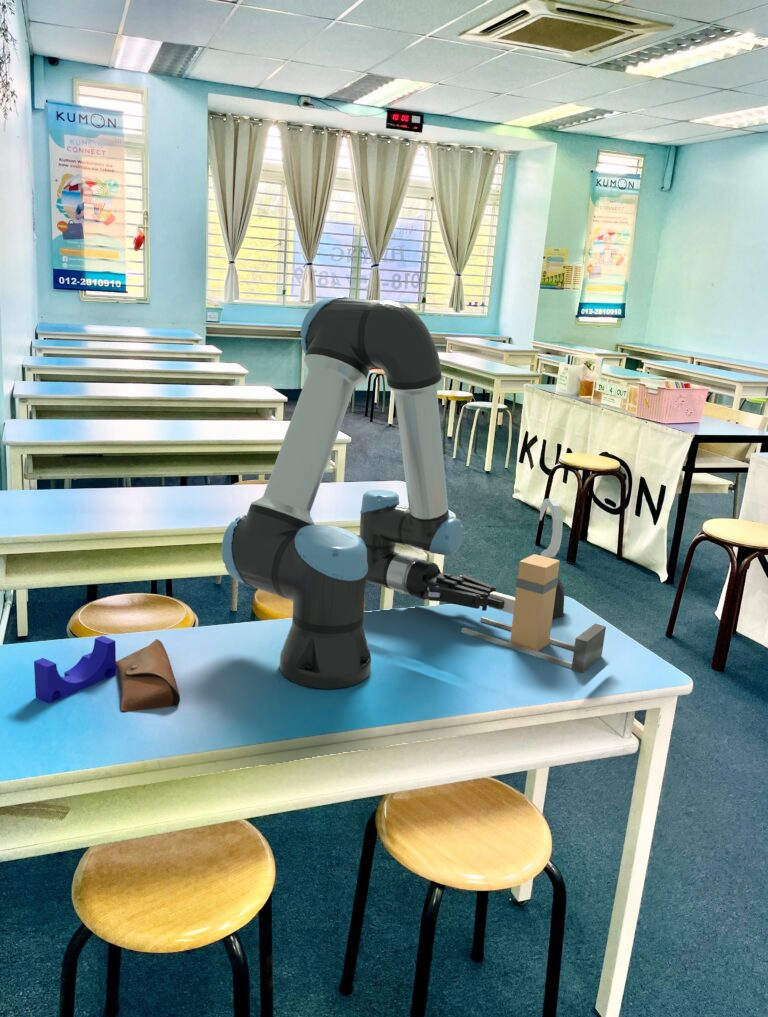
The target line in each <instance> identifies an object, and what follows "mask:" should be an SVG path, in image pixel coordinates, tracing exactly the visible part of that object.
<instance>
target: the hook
mask: <svg viewBox="0 0 768 1017" xmlns="http://www.w3.org/2000/svg"><path fill="white" fill-rule="evenodd" d="M548 508H549V509H550V511H551V518H552V533H551V539H550V544H549V545H548V547H547V548H546V549H543V551H541V552H540V556H544V557H548V558H554V557H556V555H557V554H558V552H559V550H560V547H561V543H562V538H563V528H564V527H563V526H564V525H563V524H564V523H563V520H564V519H563V514H562V509H561V508H562V507H561V505H560V503H559V502H558V500H557V499H556V498H545V499H543V502H542V504H541V505H540V509H539V510H540V511H539V521H542V520H543V517H544V514H545V513H546V510H547V509H548ZM514 597H516V595H515V596H514ZM564 608H565V587H564V585H563V583H562V581H561V579H559V578H558V585H557V587H556V595H555V602H554V610H553V618H552V620H555V619H561V618H563V617H564V612H565V610H564Z"/></svg>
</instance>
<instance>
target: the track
mask: <svg viewBox="0 0 768 1017" xmlns="http://www.w3.org/2000/svg"><path fill="white" fill-rule="evenodd" d="M480 622H482V623H485V624H488V625H490V626H491V625H492V626H494V627H498V628H501V629H504V630H507V631H510V632H511V631H512V624H507V623H504V622H501V621H497V620H494V619H491V618H487V617H484V616H481V617H480ZM606 629H607V626H605V625H603V624H602V625H601V624H599V623H598V624H597V623H594V624H593V625H591V626H590V627H588V628H587V629H586V630H584V631H583V632H582V633H581V634H579V635H578V636H577V637H575V640H574V644H572V643H568V642H565V641H563V640H559V639H555V638H553V637H550V641H549V644H552V645H555V646H558V647H561V648H565V649H567V650H571V651H573V654H572V661H569V660H566V659H562V658H560V657H557V656H553V655H550V654H547V653H544V652H541V651H535V650H532V649H529V648H526V647H523V646H520V645H516V644H513V643H510V641H507V640H504V639H501V638H497V637H494V636H491V635H489V634H485V633H482V632H479V631H476V630H473V629H470V628H468V627H461V629H460V632H461V633H463V634H466V635H469V636H472V637H474V638H479V639H481V640H484V641H487V642H491V643H493V644H497V645H499V646H502V647H505V648H509V649H512V650H515V651H517V652H520V653H523V654H527V655H530V656H532V657H535V658H539V659H543V660H545V661H548V662H551V663H554V664H557V665H560V666H564V667H566V668H570V669H571V670H572V671H575V672H578V673H581V674H583V673H584V672H586V671H587V670H588V669H589V668H591V666H593V665H594V664H595V662H597V661H598V660H599V659H601V658H602V656H603V649H604V643H605V635H606Z"/></svg>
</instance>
